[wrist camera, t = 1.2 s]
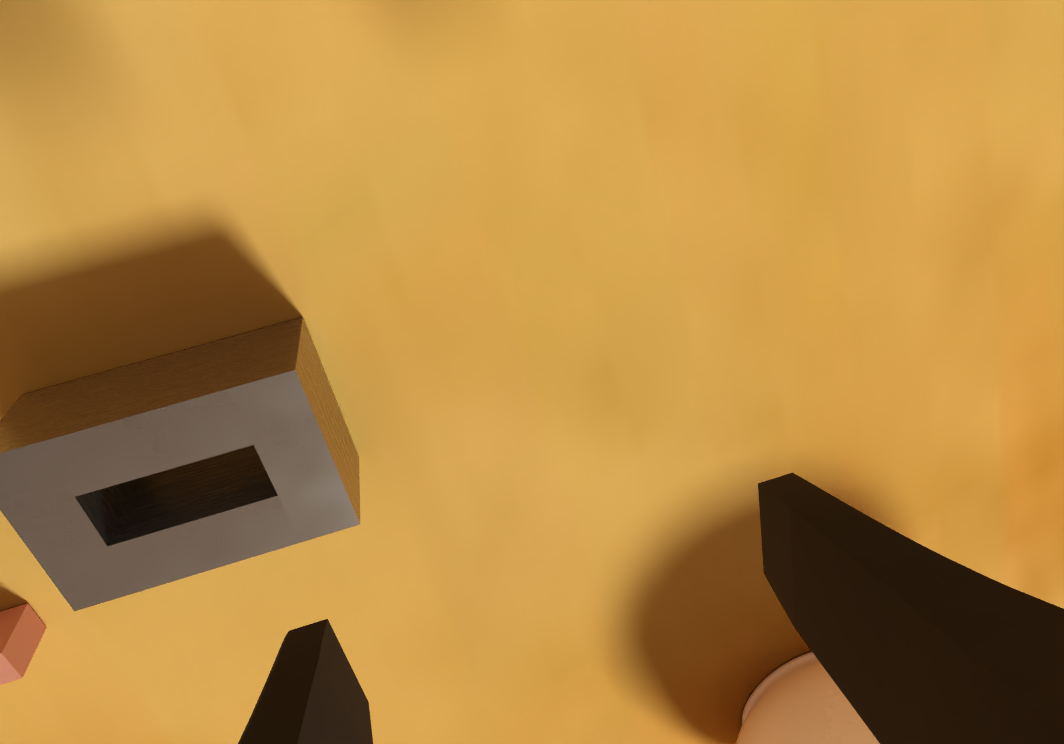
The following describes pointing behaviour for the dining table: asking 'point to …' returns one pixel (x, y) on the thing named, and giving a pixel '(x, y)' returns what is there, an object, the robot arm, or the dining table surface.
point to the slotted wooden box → (178, 464)
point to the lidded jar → (801, 709)
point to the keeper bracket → (18, 641)
